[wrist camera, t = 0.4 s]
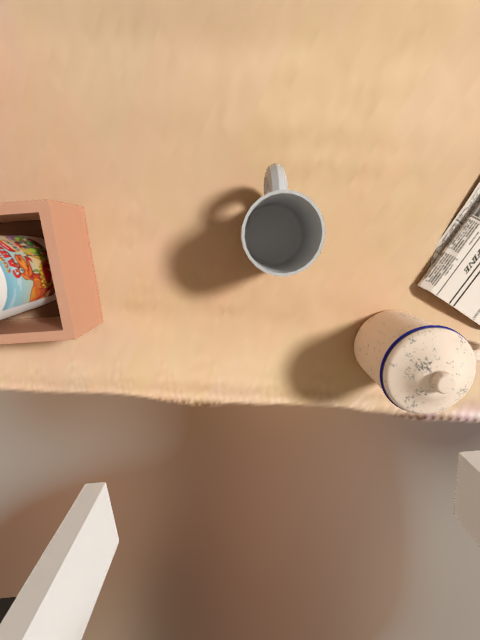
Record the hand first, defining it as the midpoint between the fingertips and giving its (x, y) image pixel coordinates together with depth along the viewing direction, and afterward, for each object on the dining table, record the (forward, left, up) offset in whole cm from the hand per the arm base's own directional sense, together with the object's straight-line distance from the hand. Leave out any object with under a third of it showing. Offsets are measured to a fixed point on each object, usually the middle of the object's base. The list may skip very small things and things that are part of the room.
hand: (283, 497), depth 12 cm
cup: (-11, +3, -28) cm, 30 cm away
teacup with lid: (+4, +18, -28) cm, 33 cm away
